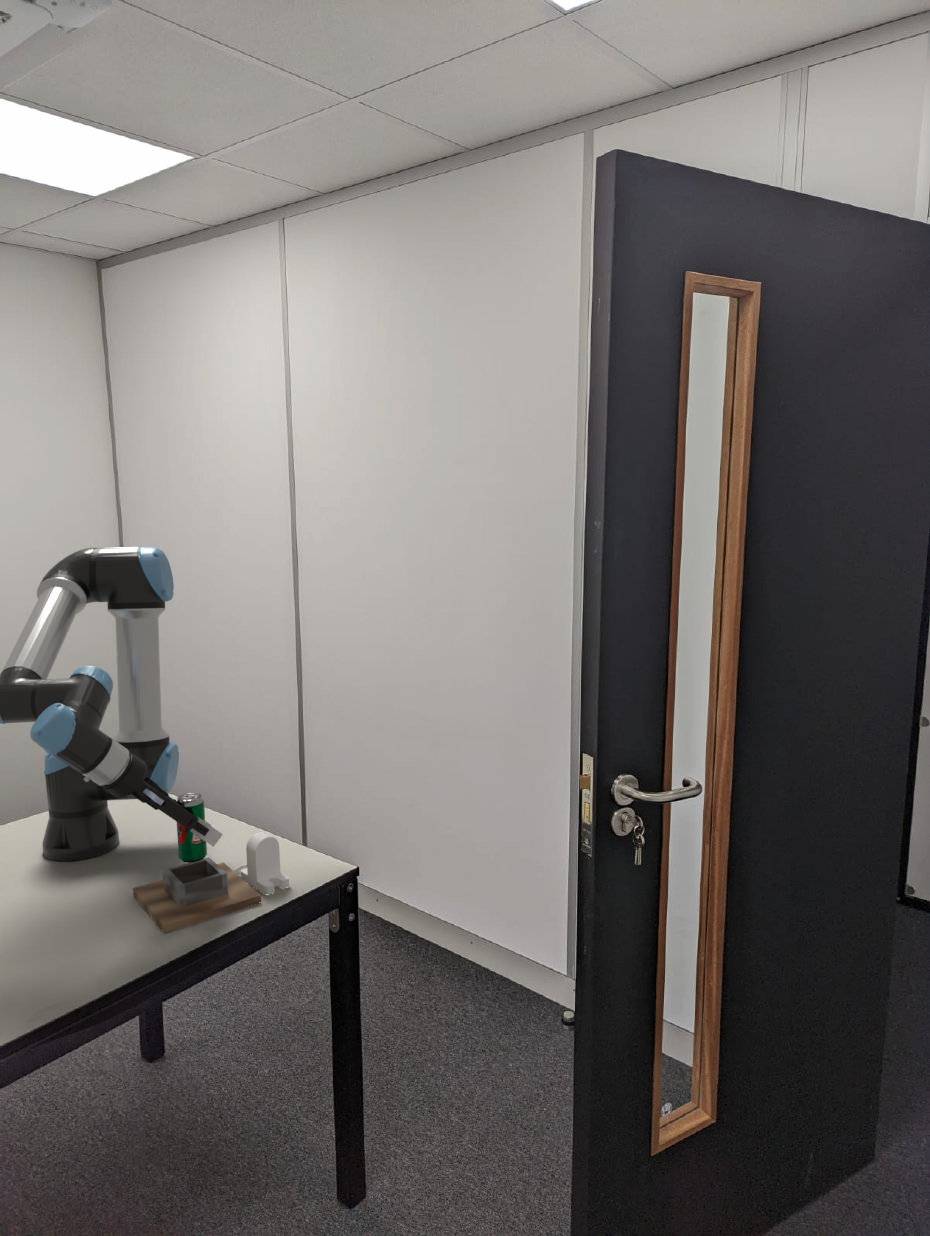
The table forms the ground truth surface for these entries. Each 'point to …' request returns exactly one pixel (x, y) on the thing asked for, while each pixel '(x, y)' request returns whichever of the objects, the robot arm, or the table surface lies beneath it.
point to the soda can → (189, 843)
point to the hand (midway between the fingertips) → (211, 835)
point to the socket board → (194, 894)
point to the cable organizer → (263, 864)
